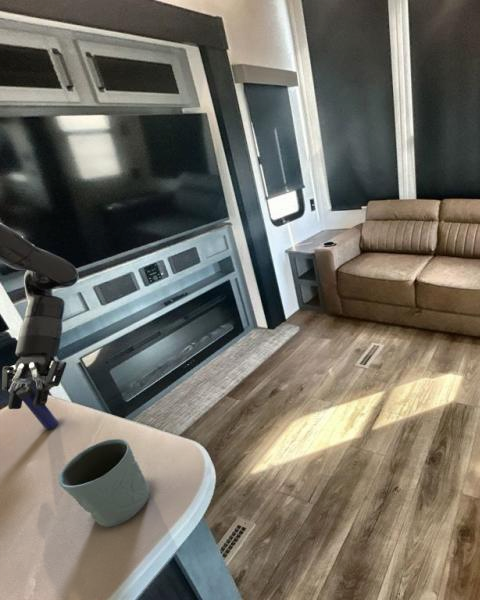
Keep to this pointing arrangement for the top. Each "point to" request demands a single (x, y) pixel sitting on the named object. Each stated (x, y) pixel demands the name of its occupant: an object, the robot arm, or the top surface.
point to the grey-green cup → (106, 482)
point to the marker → (37, 408)
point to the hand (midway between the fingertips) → (26, 407)
